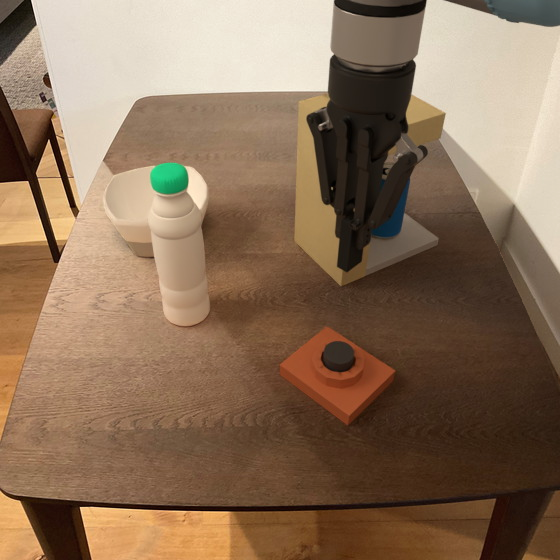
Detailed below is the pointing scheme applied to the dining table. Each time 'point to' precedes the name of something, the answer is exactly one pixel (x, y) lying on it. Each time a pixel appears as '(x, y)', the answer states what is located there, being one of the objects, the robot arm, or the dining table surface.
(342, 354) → the button
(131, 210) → the bowl
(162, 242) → the water bottle
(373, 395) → the brew pad
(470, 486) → the dining table surface
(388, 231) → the beverage can
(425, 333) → the dining table surface
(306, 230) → the coffee maker
